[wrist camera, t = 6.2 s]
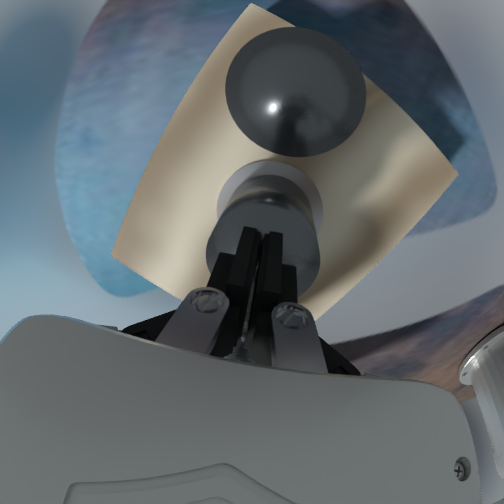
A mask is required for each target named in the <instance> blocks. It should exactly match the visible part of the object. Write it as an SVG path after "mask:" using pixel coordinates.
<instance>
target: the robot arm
mask: <svg viewBox="0 0 504 504" xmlns="http://www.w3.org/2000/svg"><path fill="white" fill-rule="evenodd" d="M260 234H261V232H256V228H252V227H247V226H244V227H243V230H242V234H241V237H240V240H239V243H238V247H237V250H236V253H235V255H234V254H229V253H223V252H220V253H219V255H218V257H217V260H216V263H215V265H214V268H213V270H212V273H211V275H210V278H209V281H208V283H207V286H206V287H200V288H196V289H194V290H192V291H190V292H189V293H188V294H187V296H186V297H185V299H184V300H183V301H182V303H181V304H180V306H179V307H178V309H176V310H173V311H170V312H168V313H165V314H162V315H159V316H156V317H153V318H151V319H148V320H145V321H143V322H139V323H136V324H133V325H131V326H128V327H126V328H124V329H123V330H122V331H121V330H118V328H117V327H113V326H104V325H96V324H92V323H89V322H86V321H83V320H79V319H75V318H70V317H66V316H59V315H34V316H29V317H26V318H24V319H22V320H21V321H19V322H18V323H17V324H16V325H14V327H12V328H11V329H10V330H9V331H8V332H7V334H6V335H5V336H4V337H3V338H2V339H1V341H0V504H482V497H481V486H480V478H479V471H478V464H477V458H476V452H475V448H474V444H473V439H472V436H471V432H470V428H469V425H468V422H467V419H466V416H465V414H464V411H463V409H462V407H461V405H460V403H459V401H458V400H457V398H456V397H455V396H454V395H453V394H452V393H450V392H449V391H447V390H446V389H444V388H442V387H439V386H437V385H434V384H431V383H427V382H423V381H419V380H411V379H401V378H386V377H382V376H378V375H374V374H370V373H365V374H364V375H362V374H360V372H359V371H358V369H357V368H356V367H355V366H353V365H352V364H351V363H350V362H349V361H348V360H346V359H345V358H344V357H343V356H342V355H340V354H339V353H338V352H337V351H336V350H334V349H333V348H332V347H331V346H330V345H329V344H327V343H326V342H325V341H324V340H323V339H322V338H320V337H319V336H318V333H317V329H316V325H315V321H314V318H313V316H312V314H311V312H310V311H309V310H308V309H307V308H305V307H304V306H302V305H300V304H298V296H297V269H296V266H293V265H288V264H282V255H283V233H279V232H273V231H270V234H266V233H265V235H264V240H263V245H262V250H261V255H260V260H259V265H258V270H257V275H256V280H255V285H254V290H253V296H252V302H251V308H250V314H249V320H248V326H247V332H246V338H245V344H244V348H245V349H249V353H248V357H249V358H251V359H252V360H253V361H254V362H255V363H256V364H253V363H247V362H242V361H236V360H231V359H226V358H223V357H225V356H227V355H229V354H233V349H234V347H240V342H241V337H242V332H243V327H244V322H245V316H246V311H247V306H248V301H249V296H250V291H251V285H252V280H253V274H254V268H255V263H256V257H257V251H258V246H259V240H260ZM458 376H459V379H460V381H461V383H462V384H465V385H473V388H474V391H475V393H476V396H477V399H478V402H479V405H480V408H481V411H482V414H483V418H484V421H485V424H486V428H487V431H488V435H489V439H490V443H491V447H492V451H493V456H494V460H495V465H496V469H497V472H498V474H499V475H500V476H501V477H502V478H503V479H504V325H503V326H501V327H500V328H498V329H496V330H495V331H493V332H492V333H491V334H489V335H488V336H487V337H485V338H484V339H483V340H482V341H481V342H480V343H479V344H478V345H476V346H475V347H474V348H473V350H472V351H471V352H470V353H469V354H468V355H467V357H466V358H465V359H464V361H463V362H462V364H461V366H460V368H459V371H458ZM493 504H504V498H503V499H501V500H499V501H497V502H495V503H493Z"/></svg>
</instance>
